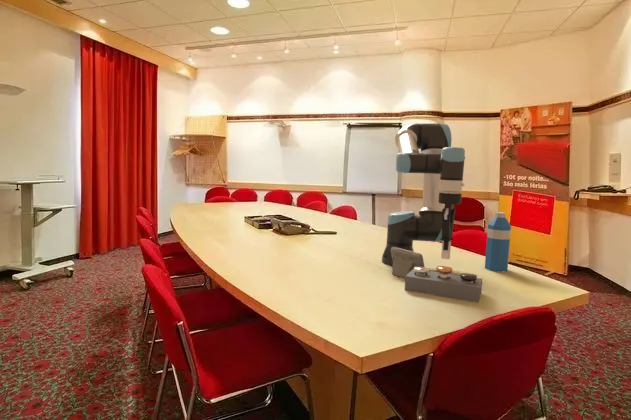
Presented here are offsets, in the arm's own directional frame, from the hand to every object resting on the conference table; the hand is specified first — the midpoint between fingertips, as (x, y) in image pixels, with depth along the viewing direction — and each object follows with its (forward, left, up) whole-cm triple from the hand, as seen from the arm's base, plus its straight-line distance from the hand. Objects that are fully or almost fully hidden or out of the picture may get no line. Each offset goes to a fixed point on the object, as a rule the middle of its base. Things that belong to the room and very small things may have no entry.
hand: (445, 258), depth 136 cm
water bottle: (+15, +43, -11) cm, 47 cm away
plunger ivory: (-8, -3, -9) cm, 12 cm away
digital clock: (-16, +11, -12) cm, 22 cm away
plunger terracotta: (0, -3, -8) cm, 8 cm away
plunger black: (+8, -3, -9) cm, 12 cm away
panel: (0, -3, -11) cm, 12 cm away
